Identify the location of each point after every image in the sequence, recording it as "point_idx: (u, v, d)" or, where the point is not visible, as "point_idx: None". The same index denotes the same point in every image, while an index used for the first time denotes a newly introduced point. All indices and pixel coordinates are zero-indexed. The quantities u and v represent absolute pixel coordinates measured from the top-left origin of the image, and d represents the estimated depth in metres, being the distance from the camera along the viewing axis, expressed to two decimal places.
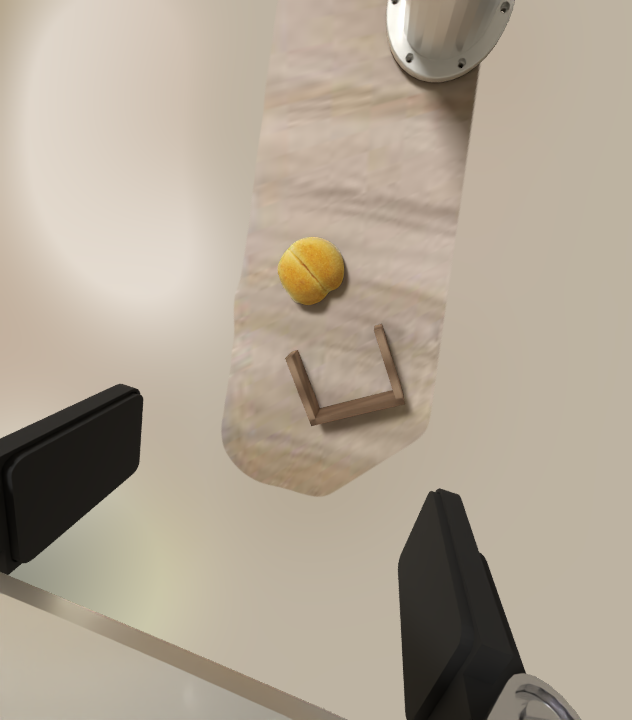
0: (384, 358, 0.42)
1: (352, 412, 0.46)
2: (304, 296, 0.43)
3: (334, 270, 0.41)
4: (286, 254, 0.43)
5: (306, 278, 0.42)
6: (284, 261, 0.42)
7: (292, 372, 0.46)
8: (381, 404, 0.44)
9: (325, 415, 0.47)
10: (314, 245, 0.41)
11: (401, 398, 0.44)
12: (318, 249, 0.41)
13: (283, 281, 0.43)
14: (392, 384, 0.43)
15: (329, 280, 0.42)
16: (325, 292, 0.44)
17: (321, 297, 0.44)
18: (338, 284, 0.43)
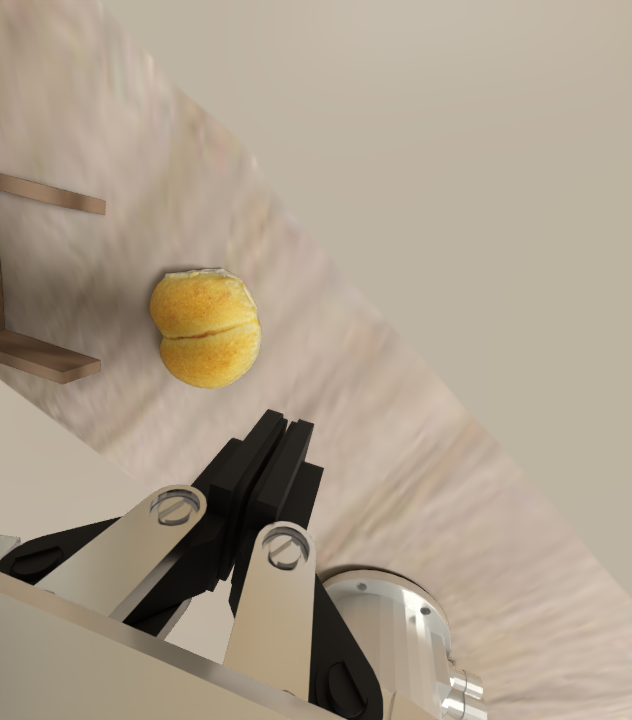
0: (19, 360, 0.25)
1: None
2: (155, 302, 0.22)
3: (173, 373, 0.23)
4: (244, 313, 0.22)
5: (177, 327, 0.22)
6: (229, 306, 0.21)
7: (31, 186, 0.21)
8: None
9: None
10: (222, 370, 0.23)
11: None
12: (213, 373, 0.22)
13: (196, 282, 0.21)
14: None
15: (163, 356, 0.23)
16: None
17: None
18: None
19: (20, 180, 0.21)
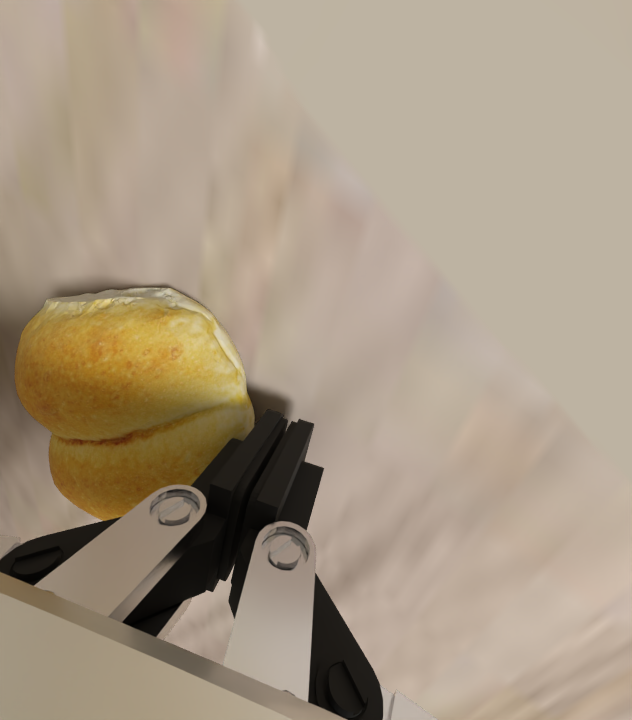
0: None
1: None
2: (16, 366, 0.10)
3: None
4: (215, 390, 0.10)
5: (62, 425, 0.10)
6: (179, 380, 0.09)
7: None
8: None
9: None
10: None
11: None
12: None
13: (97, 327, 0.09)
14: None
15: None
16: None
17: None
18: None
19: None
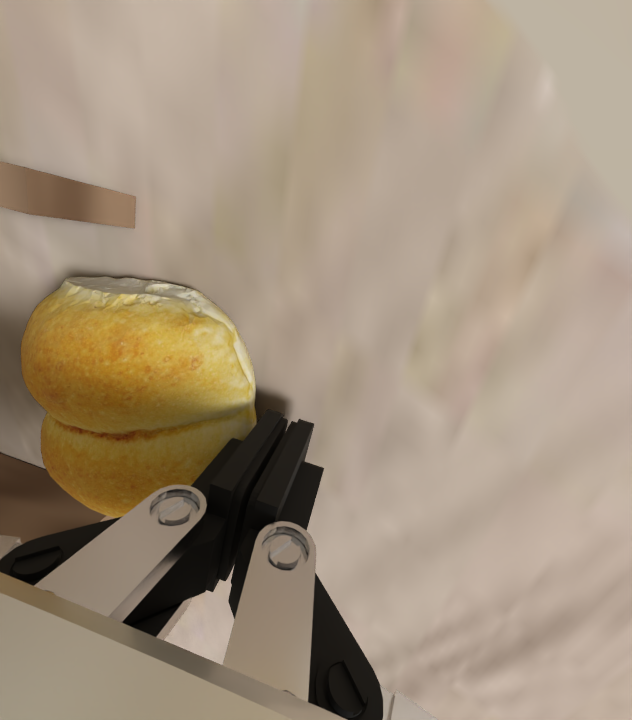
0: None
1: None
2: (24, 345, 0.09)
3: (60, 485, 0.11)
4: (226, 403, 0.10)
5: (65, 414, 0.09)
6: (194, 390, 0.09)
7: None
8: None
9: None
10: None
11: None
12: None
13: (120, 324, 0.09)
14: None
15: (41, 449, 0.11)
16: None
17: None
18: None
19: None
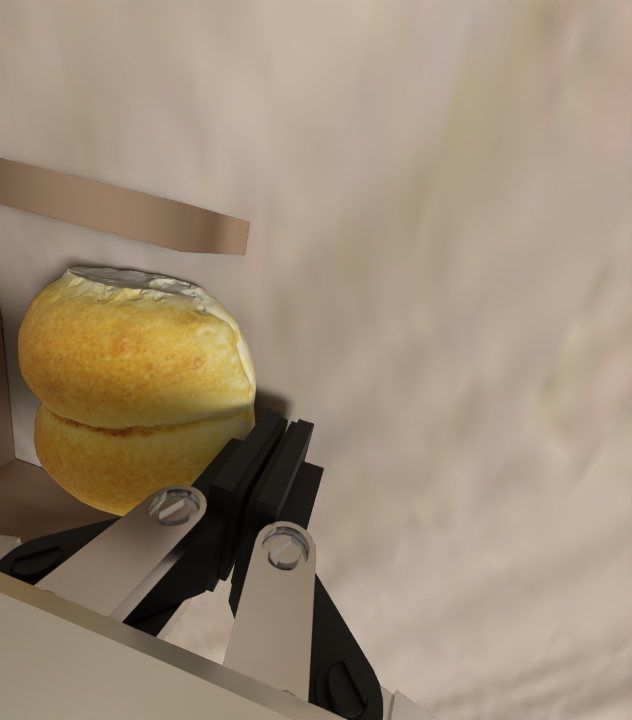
0: None
1: None
2: (23, 334, 0.09)
3: (53, 477, 0.11)
4: (226, 403, 0.10)
5: (62, 407, 0.09)
6: (195, 389, 0.09)
7: (92, 194, 0.07)
8: None
9: None
10: None
11: None
12: None
13: (123, 320, 0.09)
14: None
15: (34, 440, 0.11)
16: None
17: None
18: None
19: (60, 176, 0.07)
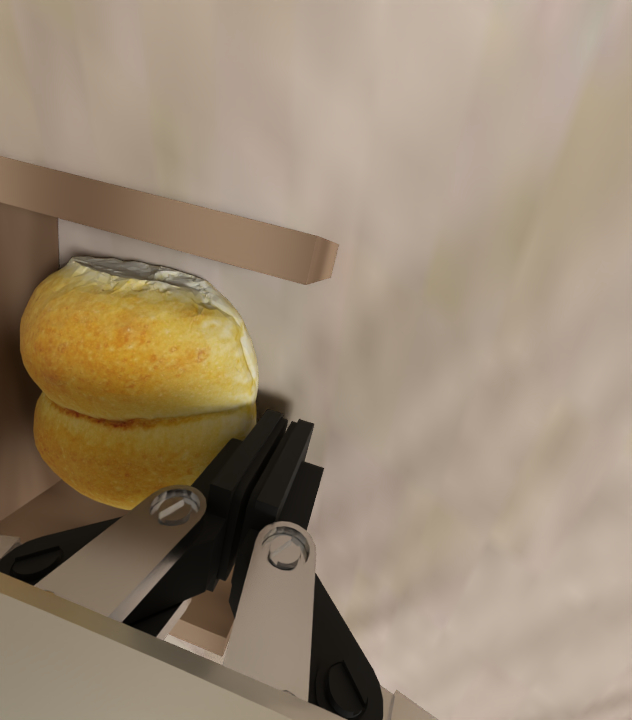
0: None
1: None
2: (25, 322, 0.09)
3: None
4: (229, 397, 0.10)
5: (63, 397, 0.09)
6: (198, 382, 0.09)
7: (211, 223, 0.07)
8: None
9: None
10: None
11: None
12: (132, 500, 0.10)
13: (128, 310, 0.08)
14: None
15: (33, 430, 0.11)
16: None
17: None
18: None
19: (177, 204, 0.07)
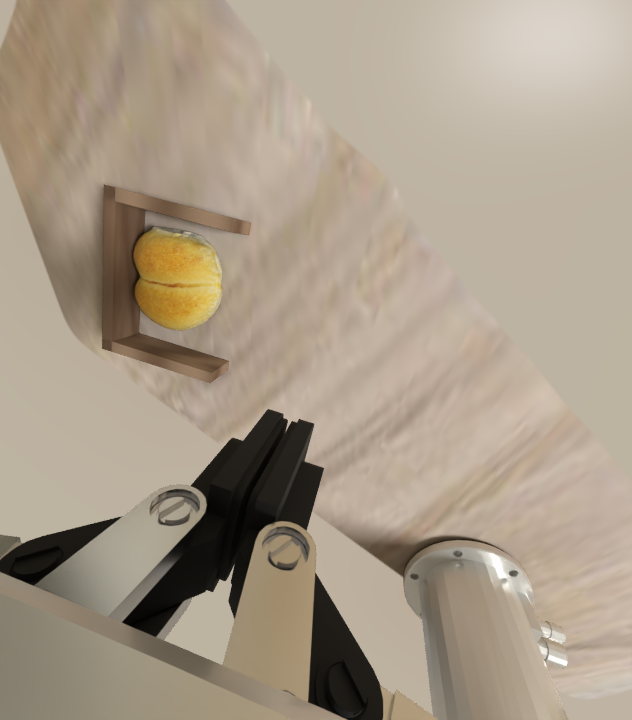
0: (171, 362, 0.29)
1: (109, 271, 0.27)
2: (139, 248, 0.27)
3: (142, 309, 0.29)
4: (210, 277, 0.27)
5: (153, 273, 0.27)
6: (199, 268, 0.27)
7: (205, 214, 0.24)
8: (109, 319, 0.29)
9: (116, 222, 0.26)
10: (183, 316, 0.28)
11: (110, 348, 0.30)
12: (175, 317, 0.28)
13: (176, 242, 0.26)
14: (133, 350, 0.29)
15: (136, 293, 0.28)
16: None
17: None
18: None
19: (195, 209, 0.24)
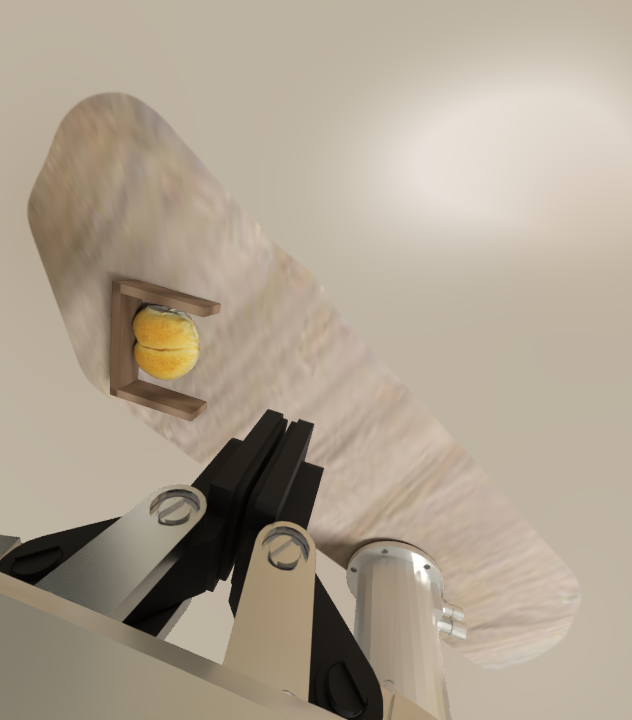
0: (161, 405, 0.38)
1: (115, 339, 0.37)
2: (137, 323, 0.36)
3: (139, 365, 0.38)
4: (189, 343, 0.37)
5: (147, 342, 0.36)
6: (180, 338, 0.36)
7: (184, 305, 0.34)
8: (115, 373, 0.38)
9: (121, 306, 0.36)
10: (169, 372, 0.38)
11: (116, 394, 0.39)
12: (163, 372, 0.37)
13: (163, 320, 0.36)
14: (133, 396, 0.39)
15: (135, 354, 0.38)
16: None
17: None
18: None
19: (177, 300, 0.34)
